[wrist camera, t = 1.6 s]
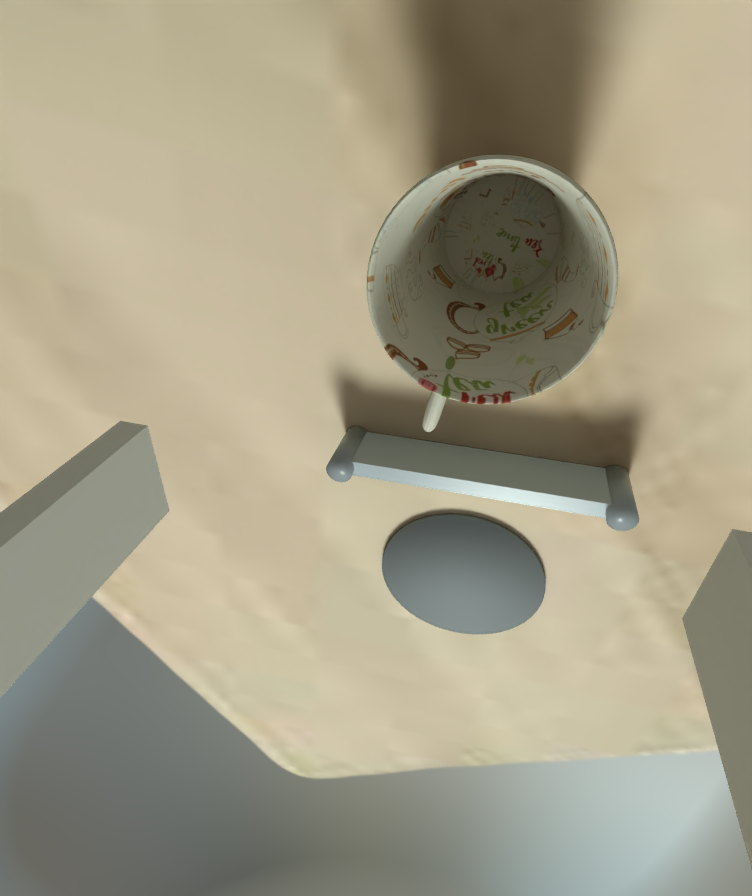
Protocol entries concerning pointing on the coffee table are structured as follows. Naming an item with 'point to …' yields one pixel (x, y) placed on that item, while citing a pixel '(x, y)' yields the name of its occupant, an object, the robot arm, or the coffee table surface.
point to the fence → (488, 475)
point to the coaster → (463, 574)
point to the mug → (491, 280)
